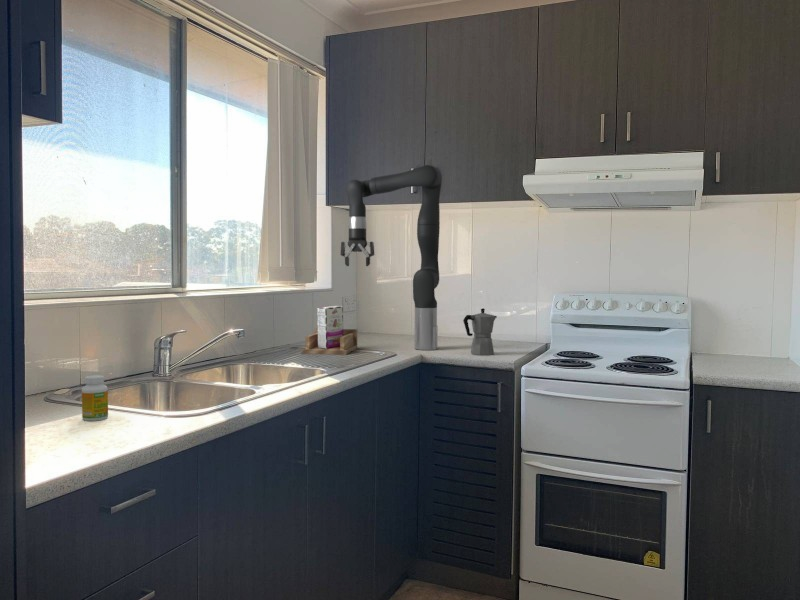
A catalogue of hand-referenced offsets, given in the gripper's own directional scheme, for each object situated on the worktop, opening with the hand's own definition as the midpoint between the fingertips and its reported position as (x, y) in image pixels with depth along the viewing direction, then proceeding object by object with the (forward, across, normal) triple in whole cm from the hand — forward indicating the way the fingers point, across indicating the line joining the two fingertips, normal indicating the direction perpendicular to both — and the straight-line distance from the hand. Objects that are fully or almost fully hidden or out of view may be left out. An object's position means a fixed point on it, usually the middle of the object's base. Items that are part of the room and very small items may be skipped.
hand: (357, 266), depth 285 cm
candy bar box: (+33, +7, +18) cm, 38 cm away
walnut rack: (+34, +7, +18) cm, 39 cm away
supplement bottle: (+34, +28, +141) cm, 148 cm away
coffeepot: (+34, -53, +15) cm, 65 cm away
